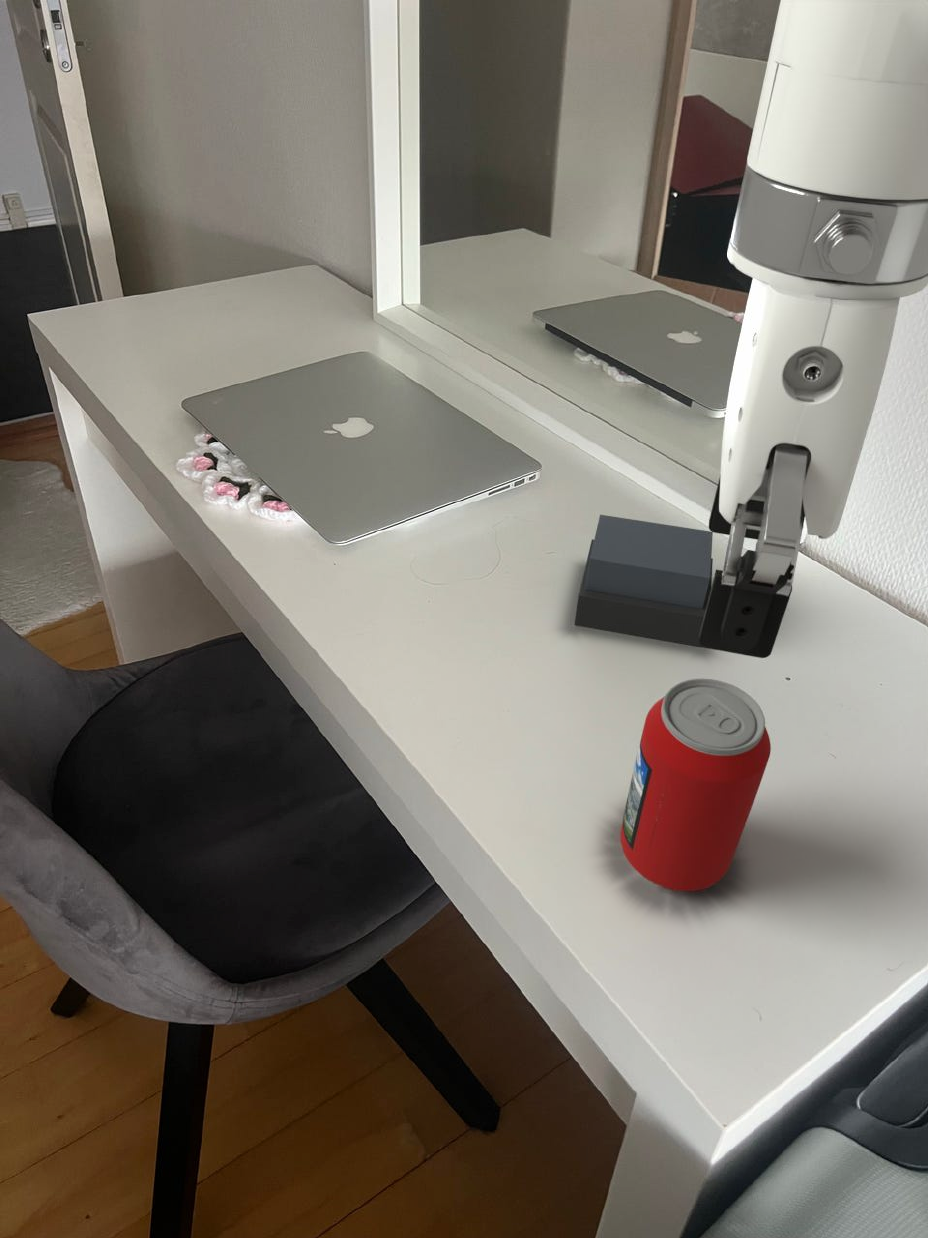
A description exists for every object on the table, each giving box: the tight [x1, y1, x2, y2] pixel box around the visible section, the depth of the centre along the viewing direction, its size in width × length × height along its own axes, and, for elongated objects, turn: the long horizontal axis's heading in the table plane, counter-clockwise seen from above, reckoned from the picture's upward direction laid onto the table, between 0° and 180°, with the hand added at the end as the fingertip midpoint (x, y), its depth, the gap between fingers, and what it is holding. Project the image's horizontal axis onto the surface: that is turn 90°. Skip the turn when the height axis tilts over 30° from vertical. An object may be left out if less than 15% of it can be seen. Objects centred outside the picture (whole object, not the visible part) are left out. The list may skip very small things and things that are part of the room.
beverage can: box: [619, 678, 772, 892], centre depth 52 cm, size 7×7×12 cm
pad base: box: [574, 538, 714, 648], centre depth 74 cm, size 10×8×3 cm
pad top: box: [585, 514, 714, 609], centre depth 72 cm, size 9×6×3 cm
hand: (735, 586), depth 45 cm, fingers open, 9 cm apart
